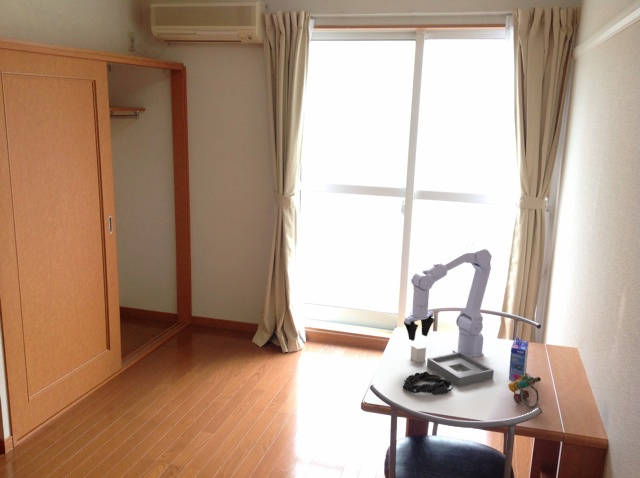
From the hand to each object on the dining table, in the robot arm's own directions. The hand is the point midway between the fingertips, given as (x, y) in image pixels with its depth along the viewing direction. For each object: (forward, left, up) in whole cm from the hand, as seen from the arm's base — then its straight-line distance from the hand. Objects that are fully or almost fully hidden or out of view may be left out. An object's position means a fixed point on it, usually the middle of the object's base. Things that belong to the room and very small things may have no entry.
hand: (418, 337), depth 219 cm
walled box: (-8, +15, -9) cm, 20 cm away
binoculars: (-13, +41, -10) cm, 44 cm away
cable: (+11, +19, -10) cm, 24 cm away
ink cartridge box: (-27, +25, -10) cm, 38 cm away
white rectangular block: (-1, -1, -10) cm, 10 cm away
